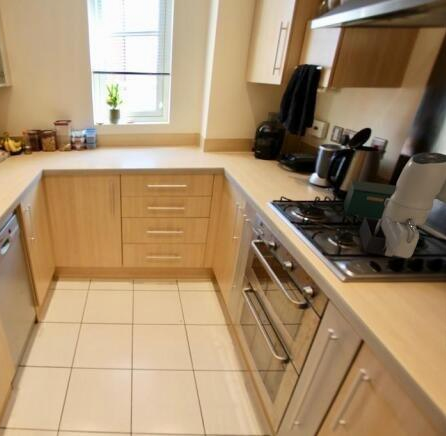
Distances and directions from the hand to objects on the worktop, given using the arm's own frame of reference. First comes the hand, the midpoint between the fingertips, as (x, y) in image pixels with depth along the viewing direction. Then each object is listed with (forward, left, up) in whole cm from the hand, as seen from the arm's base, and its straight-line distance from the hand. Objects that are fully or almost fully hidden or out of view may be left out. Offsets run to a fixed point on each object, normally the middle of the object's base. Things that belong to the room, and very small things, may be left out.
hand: (387, 253), depth 93 cm
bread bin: (0, -38, -4) cm, 38 cm away
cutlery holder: (0, -10, -4) cm, 10 cm away
